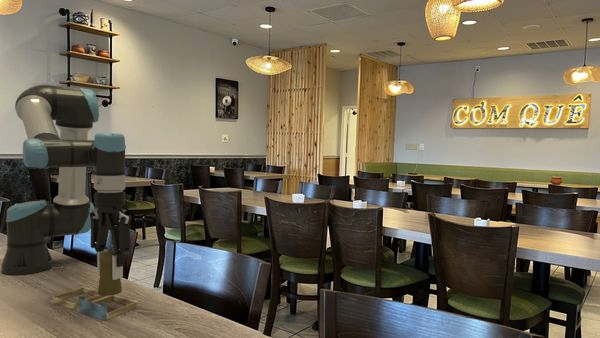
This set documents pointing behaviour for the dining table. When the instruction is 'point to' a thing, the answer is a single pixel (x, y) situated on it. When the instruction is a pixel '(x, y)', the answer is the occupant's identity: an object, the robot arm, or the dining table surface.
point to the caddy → (94, 303)
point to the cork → (108, 276)
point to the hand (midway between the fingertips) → (110, 276)
